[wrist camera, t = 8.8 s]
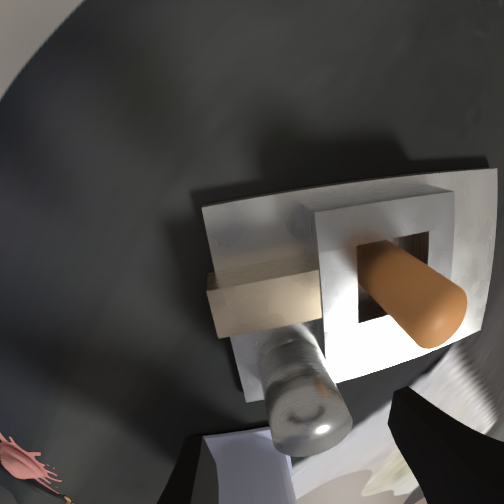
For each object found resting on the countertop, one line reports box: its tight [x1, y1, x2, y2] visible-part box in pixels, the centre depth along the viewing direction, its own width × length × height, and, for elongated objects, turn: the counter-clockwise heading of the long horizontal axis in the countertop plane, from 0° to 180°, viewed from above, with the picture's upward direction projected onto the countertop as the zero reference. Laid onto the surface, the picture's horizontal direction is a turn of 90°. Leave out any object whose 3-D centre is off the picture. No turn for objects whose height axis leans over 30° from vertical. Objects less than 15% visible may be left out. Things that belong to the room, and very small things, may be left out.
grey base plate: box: [202, 167, 497, 457], centre depth 16 cm, size 14×21×7 cm, turn 99°
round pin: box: [357, 240, 467, 349], centre depth 15 cm, size 3×3×7 cm
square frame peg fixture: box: [206, 185, 455, 360], centre depth 17 cm, size 9×14×2 cm, turn 99°
